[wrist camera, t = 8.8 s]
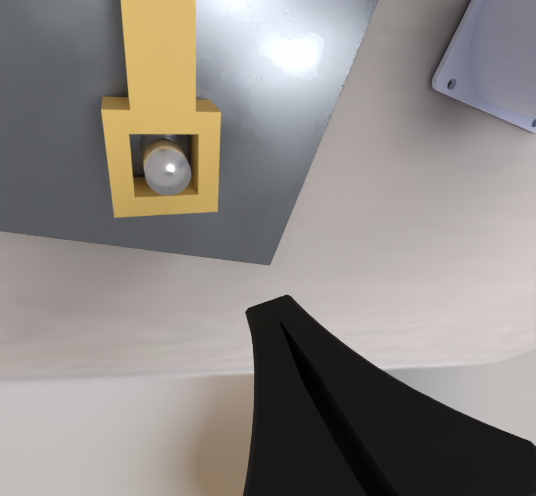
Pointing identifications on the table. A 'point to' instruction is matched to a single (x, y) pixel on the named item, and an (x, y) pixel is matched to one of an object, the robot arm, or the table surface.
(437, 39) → the table surface
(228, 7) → the base
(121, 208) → the lever
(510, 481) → the robot arm
